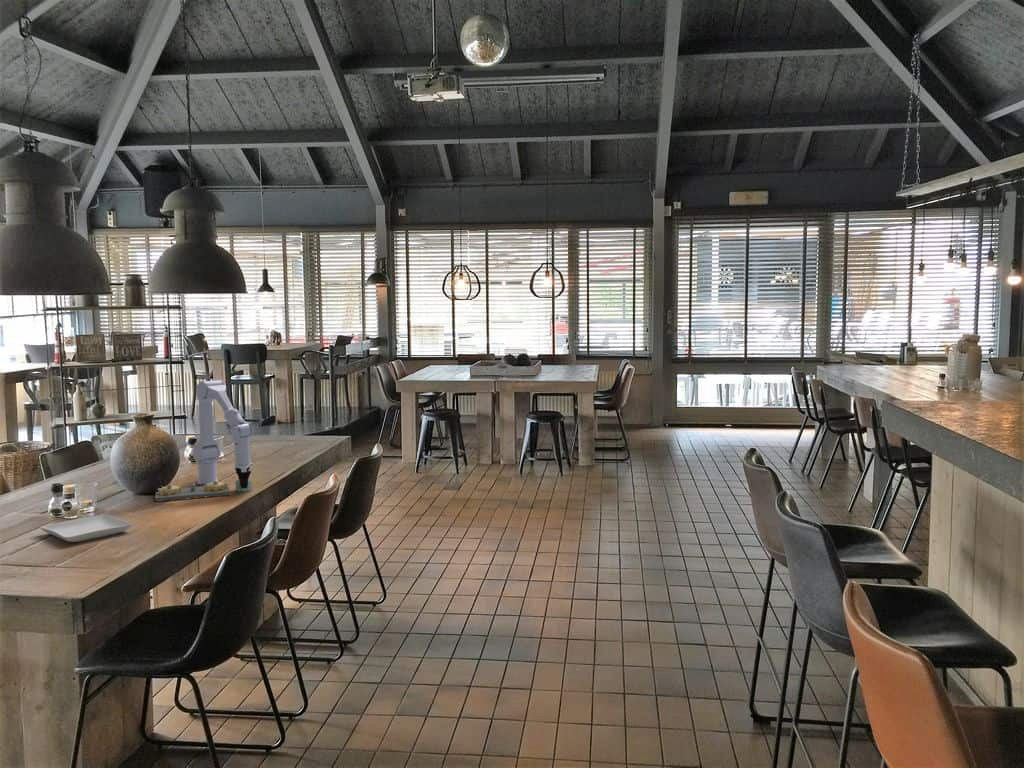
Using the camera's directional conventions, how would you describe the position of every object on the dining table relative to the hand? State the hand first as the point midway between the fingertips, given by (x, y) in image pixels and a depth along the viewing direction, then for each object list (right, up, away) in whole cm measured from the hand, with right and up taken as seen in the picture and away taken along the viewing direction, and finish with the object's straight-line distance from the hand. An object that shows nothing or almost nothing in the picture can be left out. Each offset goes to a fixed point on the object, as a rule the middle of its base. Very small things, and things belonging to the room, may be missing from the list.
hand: (243, 486), depth 324 cm
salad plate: (-32, -8, -60) cm, 68 cm away
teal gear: (0, -2, 0) cm, 2 cm away
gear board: (-18, -2, -7) cm, 19 cm away
